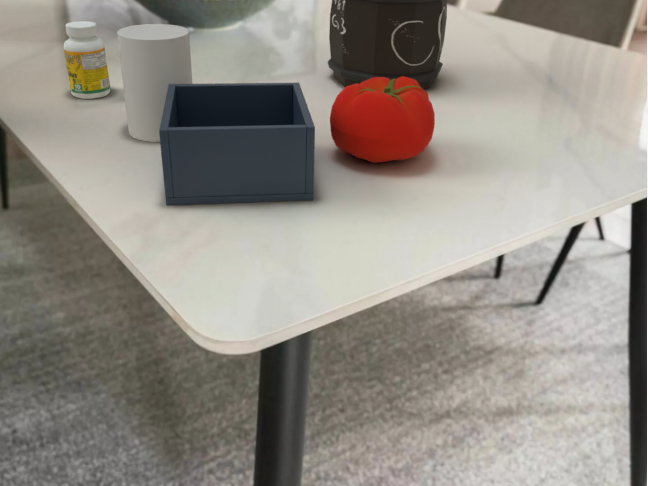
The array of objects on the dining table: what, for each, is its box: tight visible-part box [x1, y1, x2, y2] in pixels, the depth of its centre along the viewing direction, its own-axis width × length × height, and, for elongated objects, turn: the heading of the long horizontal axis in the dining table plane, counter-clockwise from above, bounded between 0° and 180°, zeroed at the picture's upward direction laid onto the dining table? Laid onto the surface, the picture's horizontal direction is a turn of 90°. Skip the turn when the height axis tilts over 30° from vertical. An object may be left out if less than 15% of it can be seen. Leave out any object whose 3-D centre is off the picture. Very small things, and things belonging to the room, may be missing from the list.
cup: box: [116, 23, 194, 143], centre depth 82 cm, size 8×8×12 cm
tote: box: [159, 82, 316, 206], centre depth 72 cm, size 15×15×8 cm
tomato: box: [329, 76, 436, 164], centre depth 78 cm, size 13×12×8 cm
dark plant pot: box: [327, 0, 448, 91], centre depth 103 cm, size 18×18×16 cm
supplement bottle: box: [63, 20, 111, 100], centre depth 94 cm, size 5×5×10 cm
